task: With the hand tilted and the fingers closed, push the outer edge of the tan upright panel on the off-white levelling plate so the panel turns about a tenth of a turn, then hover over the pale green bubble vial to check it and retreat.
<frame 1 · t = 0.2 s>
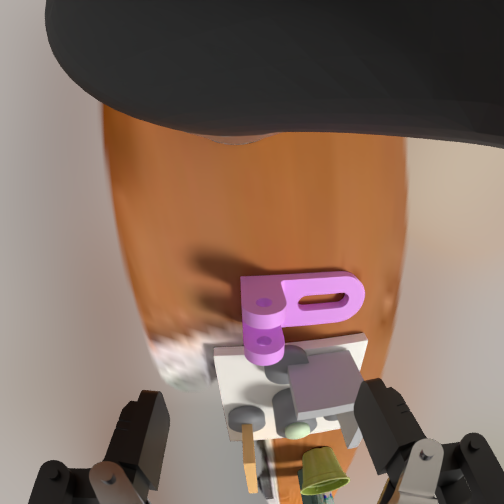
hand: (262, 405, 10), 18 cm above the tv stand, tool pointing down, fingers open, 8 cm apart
bracket: (303, 295, 29), on the tv stand
levelling plate: (288, 395, 34), on the tv stand
tan upright panel: (249, 455, 32), point 6 cm above the tv stand, hinge at 0.0°
can: (311, 469, 47), on the tv stand
plant pot: (317, 452, 43), on the tv stand
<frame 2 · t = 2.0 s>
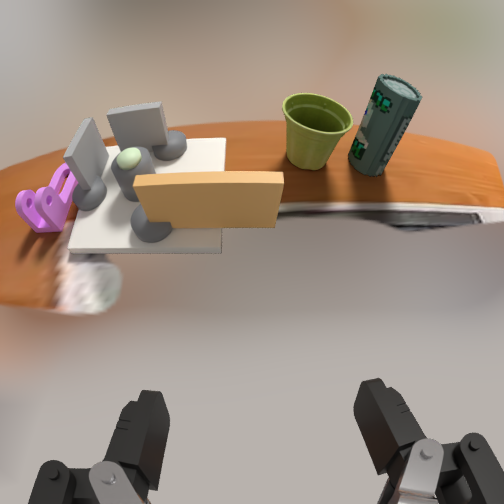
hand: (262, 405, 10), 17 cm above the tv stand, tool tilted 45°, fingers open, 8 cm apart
bracket: (62, 197, 35), on the tv stand
levelling plate: (150, 193, 35), on the tv stand
tan upright panel: (197, 202, 28), point 6 cm above the tv stand, hinge at 0.0°
can: (365, 162, 40), on the tv stand
plant pot: (306, 157, 39), on the tv stand
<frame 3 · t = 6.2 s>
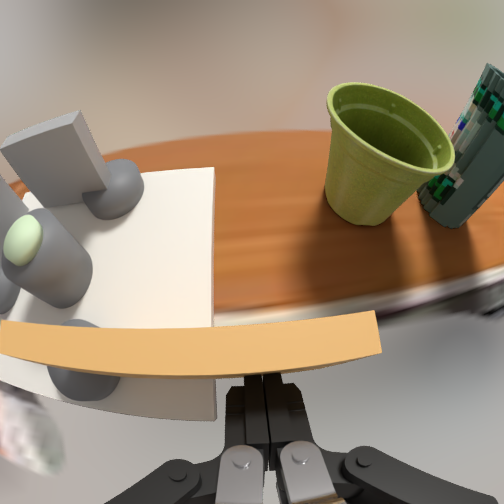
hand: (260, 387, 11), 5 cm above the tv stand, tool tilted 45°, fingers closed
levelling plate: (85, 283, 18), on the tv stand
tan upright panel: (150, 361, 11), point 6 cm above the tv stand, hinge at 1.8°, touching gripper
can: (440, 203, 23), on the tv stand
plant pot: (357, 198, 22), on the tv stand
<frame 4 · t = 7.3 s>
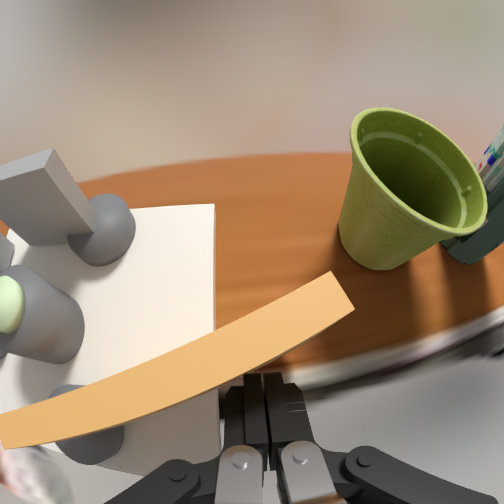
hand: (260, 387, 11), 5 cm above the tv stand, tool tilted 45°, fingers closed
levelling plate: (78, 333, 16), on the tv stand
tan upright panel: (140, 400, 10), point 6 cm above the tv stand, hinge at 24.9°, touching gripper
can: (458, 235, 21), on the tv stand
plant pot: (372, 236, 20), on the tv stand
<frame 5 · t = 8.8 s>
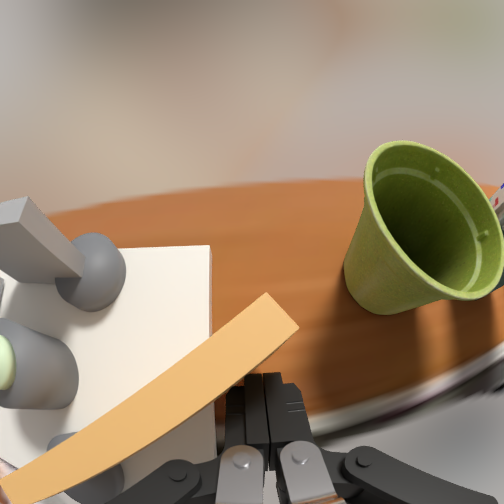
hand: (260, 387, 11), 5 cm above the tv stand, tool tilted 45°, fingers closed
levelling plate: (73, 377, 15), on the tv stand
tan upright panel: (123, 442, 9), point 6 cm above the tv stand, hinge at 37.9°, touching gripper
can: (466, 267, 19), on the tv stand
plant pot: (379, 275, 19), on the tv stand
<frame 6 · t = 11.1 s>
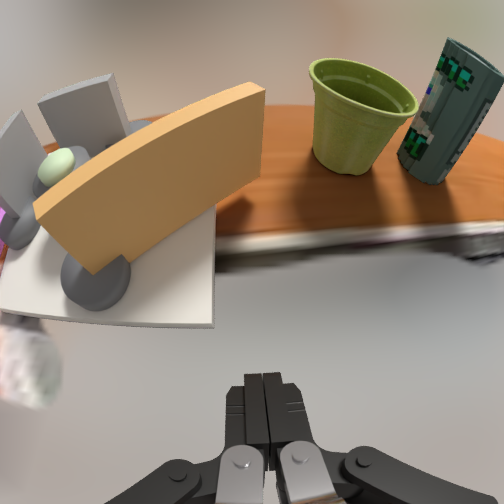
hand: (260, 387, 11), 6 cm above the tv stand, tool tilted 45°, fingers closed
levelling plate: (102, 219, 21), on the tv stand
tan upright panel: (148, 194, 15), point 6 cm above the tv stand, hinge at 38.0°
can: (420, 164, 26), on the tv stand
plant pot: (341, 155, 25), on the tv stand
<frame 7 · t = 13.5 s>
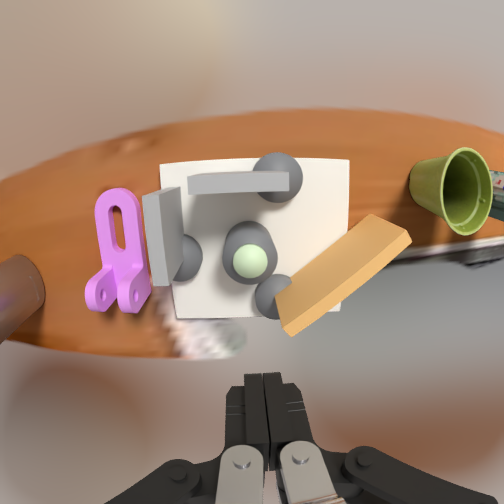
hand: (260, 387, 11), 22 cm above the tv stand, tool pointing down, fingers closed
bracket: (124, 241, 31), on the tv stand
levelling plate: (257, 239, 31), on the tv stand
tan upright panel: (326, 276, 27), point 6 cm above the tv stand, hinge at 38.0°
can: (471, 188, 30), on the tv stand
plant pot: (425, 183, 30), on the tv stand
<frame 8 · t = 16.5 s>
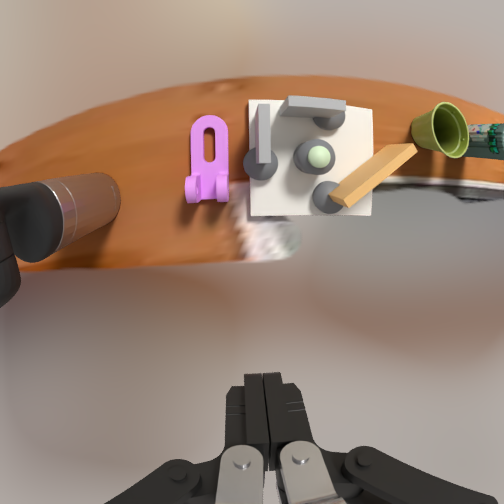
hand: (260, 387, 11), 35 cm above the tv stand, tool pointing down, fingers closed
bracket: (210, 156, 41), on the tv stand
levelling plate: (313, 158, 41), on the tv stand
tan upright panel: (364, 176, 37), point 6 cm above the tv stand, hinge at 38.0°
can: (456, 141, 41), on the tv stand
plant pot: (422, 132, 40), on the tv stand
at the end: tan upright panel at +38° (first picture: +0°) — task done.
